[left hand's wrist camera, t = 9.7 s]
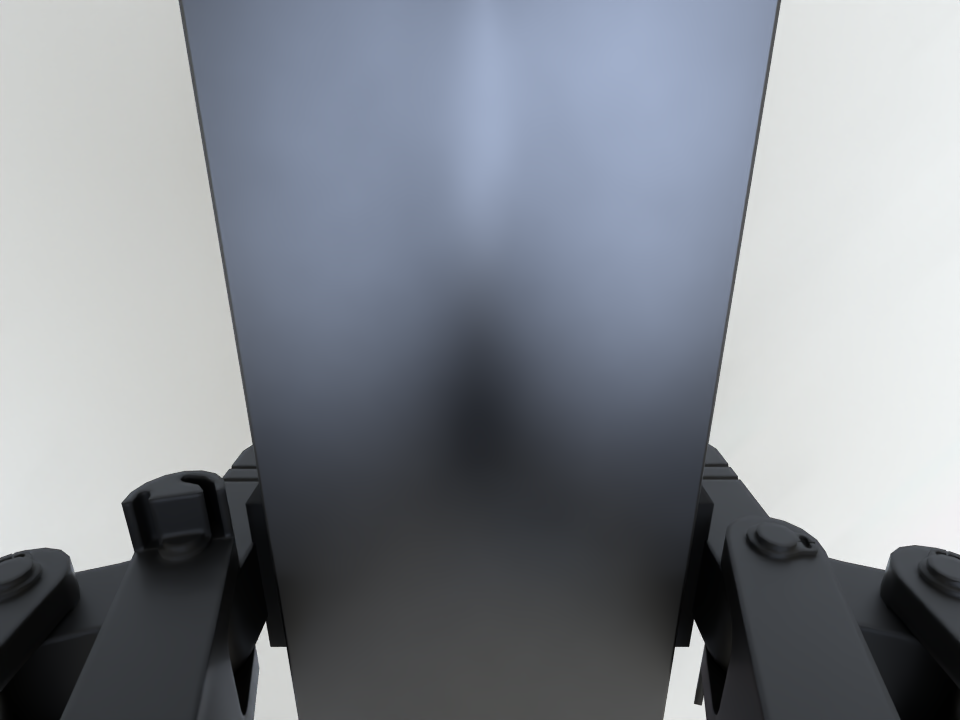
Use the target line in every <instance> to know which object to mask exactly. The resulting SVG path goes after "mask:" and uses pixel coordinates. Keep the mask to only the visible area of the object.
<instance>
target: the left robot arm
mask: <svg viewBox="0 0 960 720" xmlns="http://www.w3.org/2000/svg"><path fill="white" fill-rule="evenodd" d="M122 507H123V511H124V515H125V518H126V522H127V526H128V529H129V533H130V537H131V541H132V544H133V548H134V555H133V557H132V559H131V560H130V561H126V562H123V563H119V564H114V565H109V566H105V567H100V568H95V569H90V570H85V571H81V572H76V573H75V572H74V569H73V566H72V563H71V559H70V556H68V555H67V554H66V553H64V552H63V551H62V550H59V549H51V548H39V549H32V550H24V551H20V552H16V553H14V554H9V555H7V556H4V557H1V558H0V720H254V711H255V702H256V693H257V684H258V675H259V664H258V657H257V652H256V646H255V644H256V642H257V640H258V637H259V635H260V633H261V631H262V628H263V626H264V624H265V622H266V624H267V629H268V635H269V641H270V646H271V647H286V641H285V635H284V629H283V623H282V617H281V611H280V605H279V599H278V593H277V587H276V581H275V575H274V569H273V563H272V557H271V551H270V545H269V539H268V533H267V527H266V521H265V515H264V509H263V503H262V497H261V491H260V485H259V479H258V473H257V467H256V461H255V455H254V449H253V445H252V446H250V447H249V448H247V449H246V450H244V451H243V452H242V453H241V454H240V456H239V457H238V458H237V460H236V461H235V462H234V464H233V465H232V469H229V470H228V471H227V473H226V474H225V475H224V477H223V478H221V477H220V476H218V475H217V474H216V473H211V472H207V471H183V472H178V473H173V474H169V475H164V476H162V477H159V478H157V479H154V480H152V481H149V482H147V483H145V484H143V485H142V486H140V487H139V488H137V489H135V490H134V491H132V492H131V493H130V494H129V495H128V496H127V497H126V499H125V500H124V501H123V502H122ZM694 620H695V622H696V624H697V626H698V629H699V631H700V633H701V635H702V638H703V640H704V642H705V646H704V652H703V657H702V662H701V667H700V673H699V678H698V683H697V689H696V694H695V701H694V704H697V705H702V701H703V696H704V701H705V710H706V719H707V720H960V555H959V554H956V553H953V552H950V551H949V552H948V551H946V550H943V549H939V548H933V547H925V546H918V545H912V546H905V547H899V548H898V549H896V550H895V551H894V552H892V553H891V555H890V558H889V561H888V564H887V567H886V570H882V569H877V568H872V567H867V566H862V565H858V564H853V563H848V562H843V561H839V560H835V559H832V558H828V556H827V554H826V551H825V550H824V549H823V547H822V546H821V545H820V543H819V542H818V541H817V540H816V539H815V538H814V537H812V536H811V535H810V534H808V533H807V532H806V531H804V530H803V529H801V528H799V527H797V526H794V525H792V524H790V523H788V522H786V521H783V520H779V519H774V518H770V517H769V516H768V515H767V513H766V512H765V511H764V510H763V508H762V507H761V506H760V504H759V503H758V502H757V501H756V499H755V498H754V497H753V495H752V494H751V493H750V491H749V490H748V489H747V488H746V486H745V485H744V484H743V482H742V481H741V480H738V476H737V475H736V473H735V472H734V471H733V470H732V468H731V467H728V463H727V462H726V460H725V459H724V458H723V457H722V455H721V454H720V453H719V451H718V450H717V449H716V448H714V447H713V446H711V445H709V444H708V449H707V455H706V461H705V467H704V473H703V479H702V485H701V491H700V498H699V504H698V510H697V516H696V522H695V528H694V534H693V540H692V546H691V552H690V559H689V565H688V571H687V577H686V583H685V589H684V595H683V601H682V607H681V613H680V620H679V626H678V632H677V638H676V644H675V647H689V644H690V638H691V633H692V627H693V621H694Z"/></svg>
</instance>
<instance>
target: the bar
mask: <svg viewBox="0 0 960 720" xmlns="http://www.w3.org/2000/svg"><path fill="white" fill-rule="evenodd" d="M780 3H781V0H179V5H180V11H181V17H182V23H183V29H184V35H185V41H186V47H187V53H188V59H189V65H190V71H191V77H192V83H193V89H194V95H195V101H196V107H197V113H198V119H199V125H200V131H201V137H202V143H203V149H204V155H205V161H206V167H207V173H208V179H209V185H210V191H211V197H212V203H213V209H214V215H215V221H216V227H217V233H218V239H219V245H220V251H221V257H222V263H223V269H224V275H225V281H226V287H227V293H228V299H229V305H230V311H231V317H232V323H233V329H234V335H235V341H236V347H237V353H238V359H239V365H240V371H241V377H242V383H243V389H244V395H245V401H246V407H247V413H248V419H249V425H250V431H251V437H252V443H253V449H254V455H255V461H256V467H257V473H258V479H259V485H260V491H261V497H262V503H263V509H264V515H265V521H266V527H267V533H268V539H269V545H270V551H271V557H272V563H273V569H274V575H275V581H276V587H277V593H278V599H279V605H280V611H281V617H282V623H283V629H284V635H285V641H286V647H287V653H288V659H289V664H290V670H291V676H292V682H293V688H294V694H295V700H296V706H297V712H298V718H299V720H663V717H664V711H665V705H666V699H667V693H668V687H669V681H670V674H671V668H672V662H673V656H674V650H675V644H676V638H677V632H678V626H679V620H680V613H681V607H682V601H683V595H684V589H685V583H686V577H687V571H688V565H689V559H690V552H691V546H692V540H693V534H694V528H695V522H696V516H697V510H698V504H699V498H700V491H701V485H702V479H703V473H704V467H705V461H706V455H707V449H708V443H709V437H710V430H711V424H712V418H713V412H714V406H715V400H716V394H717V388H718V382H719V376H720V369H721V363H722V357H723V351H724V345H725V339H726V333H727V327H728V321H729V315H730V308H731V302H732V296H733V290H734V284H735V278H736V272H737V266H738V260H739V254H740V247H741V241H742V235H743V229H744V223H745V217H746V211H747V205H748V199H749V193H750V186H751V180H752V174H753V168H754V162H755V156H756V150H757V144H758V138H759V132H760V125H761V119H762V113H763V107H764V101H765V95H766V89H767V83H768V77H769V71H770V64H771V58H772V52H773V46H774V40H775V34H776V28H777V22H778V16H779V10H780Z"/></svg>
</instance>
